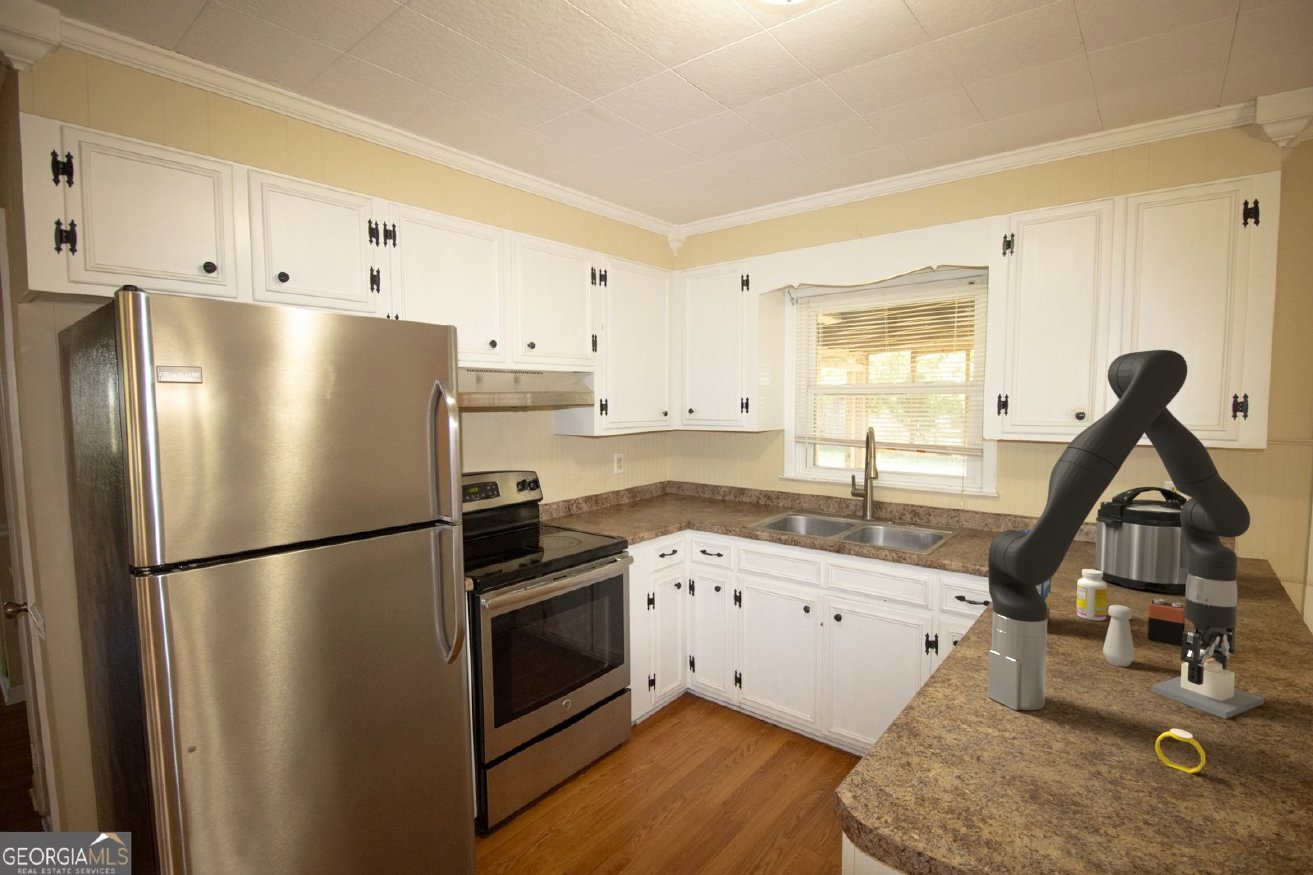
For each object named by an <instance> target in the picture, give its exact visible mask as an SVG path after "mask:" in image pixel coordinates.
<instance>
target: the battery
mask: <svg viewBox="0 0 1313 875" xmlns="http://www.w3.org/2000/svg"><path fill="white" fill-rule="evenodd" d="M1185 628H1186V618H1185V605H1183V604H1182V603H1181V602H1176V601H1173V602H1172V603H1171V602H1165V599H1162V598H1155V597H1154V598H1153V600H1150V601H1149V603H1148V621H1147V639H1148V640H1149V641H1153V642H1154V641H1155V642H1158V643H1164V644H1168V645H1175V646H1180V647H1182V638H1183V632H1184V631H1186V630H1185Z"/></svg>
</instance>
